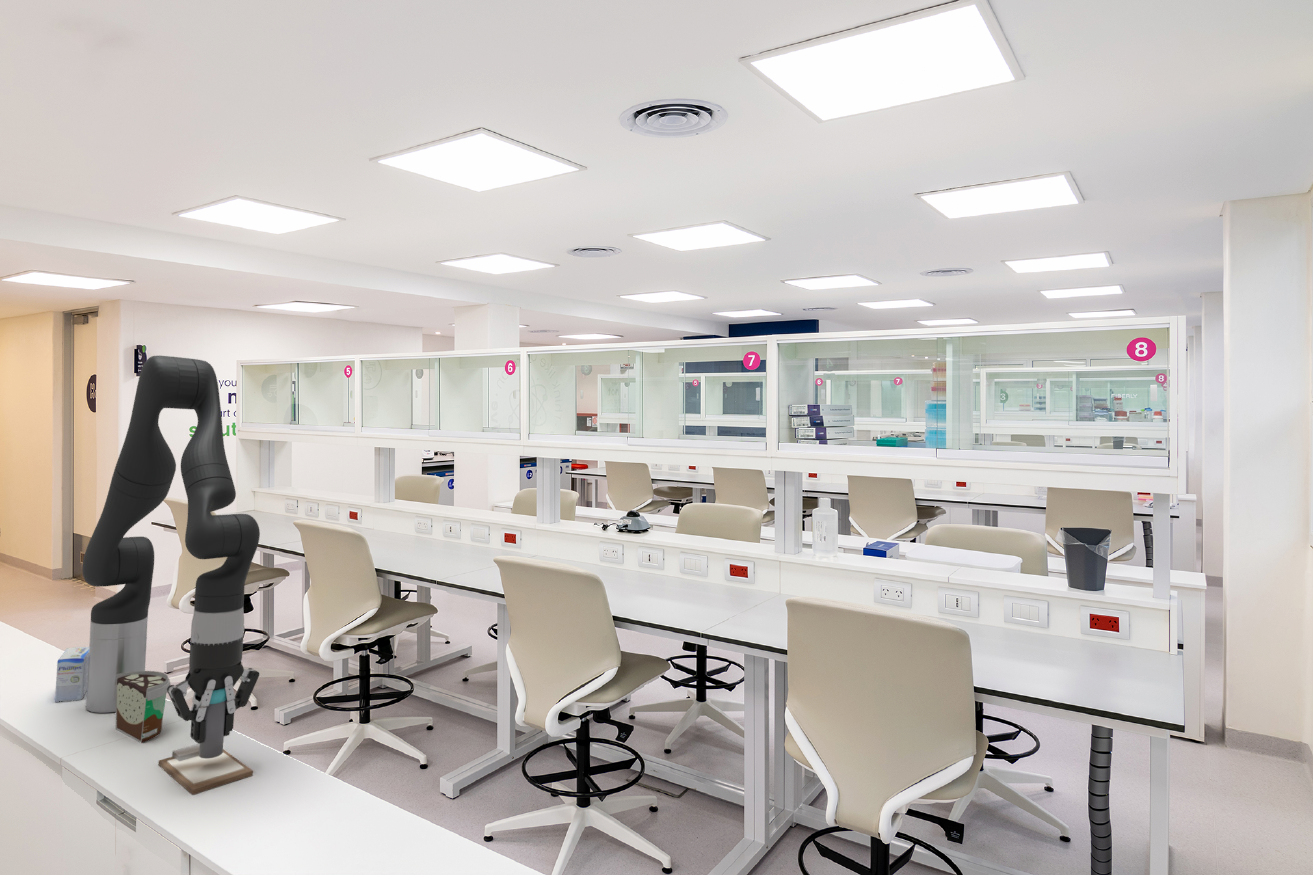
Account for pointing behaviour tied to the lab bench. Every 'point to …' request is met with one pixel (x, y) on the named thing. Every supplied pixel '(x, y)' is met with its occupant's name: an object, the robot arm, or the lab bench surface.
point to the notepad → (203, 769)
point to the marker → (214, 726)
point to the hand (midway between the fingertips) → (211, 737)
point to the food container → (140, 703)
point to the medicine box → (72, 674)
